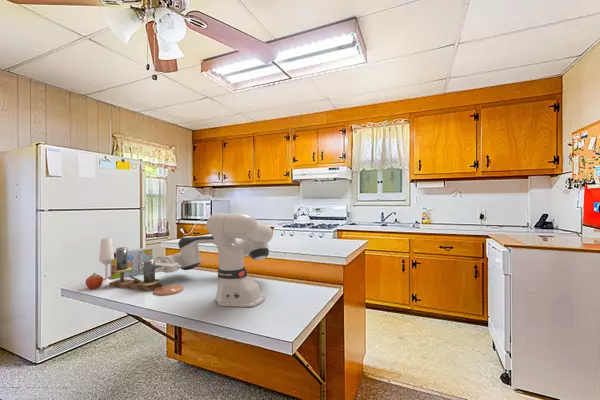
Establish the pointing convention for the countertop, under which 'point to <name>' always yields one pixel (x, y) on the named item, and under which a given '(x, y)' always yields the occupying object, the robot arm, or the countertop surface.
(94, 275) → the tomato
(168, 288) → the dish
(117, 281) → the balance
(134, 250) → the snack box
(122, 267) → the cylinder
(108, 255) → the champagne flute
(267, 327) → the countertop surface
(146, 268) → the brushed steel peg
